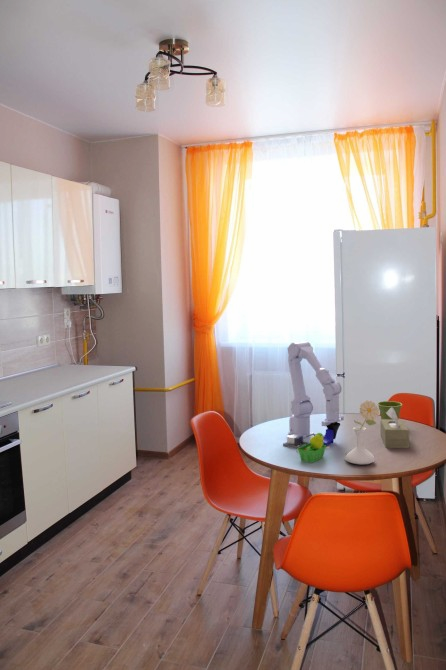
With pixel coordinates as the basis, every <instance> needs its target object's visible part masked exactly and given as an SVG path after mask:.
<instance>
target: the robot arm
mask: <svg viewBox="0 0 446 670" xmlns="http://www.w3.org/2000/svg"><path fill="white" fill-rule="evenodd" d="M287 353H288V357H287V362H288V368H289V373H290V379H291V385H292V391H293V398H292V399H291V401H290V411H291V414H292V415H290V417H289V422H288V423H289V431H288V435H293V434H299V435H303V438H306V437H309V436H311V435H314V434H315V432H313V431H311V415H312V413H313V411H314V405H313V403H312V400H311V398H310V397H309V395H307V393H306V387H305V381H304V376H303V370H302V366H301V365H302V364H301V362H302V360H306V361H307V363H308V364H309V365H310V366H311V368H312V369H313V370H314V371H315V378H316V379H317V380H318V381H319V383H320V384H321V386H322V387H323V389H322V392H323V394H324V398H325V417H326V418H325V419H323V420H321V426H322V427H326V429H332V430H333V432H334V440H336V438H337V434H338V430H339V428H340V427H341V423H340V422H342V421H344V420H345V419H344V415H340V393H341V392H342V385H341V383H340V382H339V381H337V380H335V379H334V377H332V375H331V374H330V371H329V370H328V369H327V368H323V366H322V364H321V363H320V361H319V360H318V358H317V356H316V355H315V353H314V348H313V346H312V345H311V343H310V342H309V341H307V340H304V341H299V342H291V343H290V344H289V345H288V347H287Z"/></svg>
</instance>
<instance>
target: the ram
mask: <svg viewBox="0 0 446 670" xmlns="http://www.w3.org/2000/svg"><path fill="white" fill-rule="evenodd" d="M303 441H304V437H303V435H299V434H293V435H292V434H289V435H287V436H286V442H287V444H290V445H294V446H298V447H300V446H301V445H304V444H303Z"/></svg>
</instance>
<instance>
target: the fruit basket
mask: <svg viewBox="0 0 446 670" xmlns="http://www.w3.org/2000/svg"><path fill="white" fill-rule="evenodd" d="M315 434H316V435H315V436H314V435H313V436H312V437H310V439H309V444H307V445H305V444H303V446H299V447H300V448H298V449H297V451H299V452H298V454H299V457H300V462H307V463H311V464H312V463H314V462H317V461H318V460H321V459H322V458H324V455H325V451H326V449H327V448H326V445H323V435H324V434H323V433H322V432H318V433H315ZM325 448H326V449H325Z"/></svg>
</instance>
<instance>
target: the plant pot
mask: <svg viewBox="0 0 446 670" xmlns="http://www.w3.org/2000/svg"><path fill="white" fill-rule="evenodd" d="M376 404H377V407H378V408H379V415H380V420H381V419H391V418H390V417H389V416H388V415H387V414H386V412H388V410H389V409H390V408H391V407H393V409H394V410H395V412H396V415H397V418H398V420H400V419H399V418H400V412H401V409H402V407H403V403H401V402H399V401H391V400H384V401H379V402H377V403H376ZM392 420H393V419H392Z"/></svg>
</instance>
